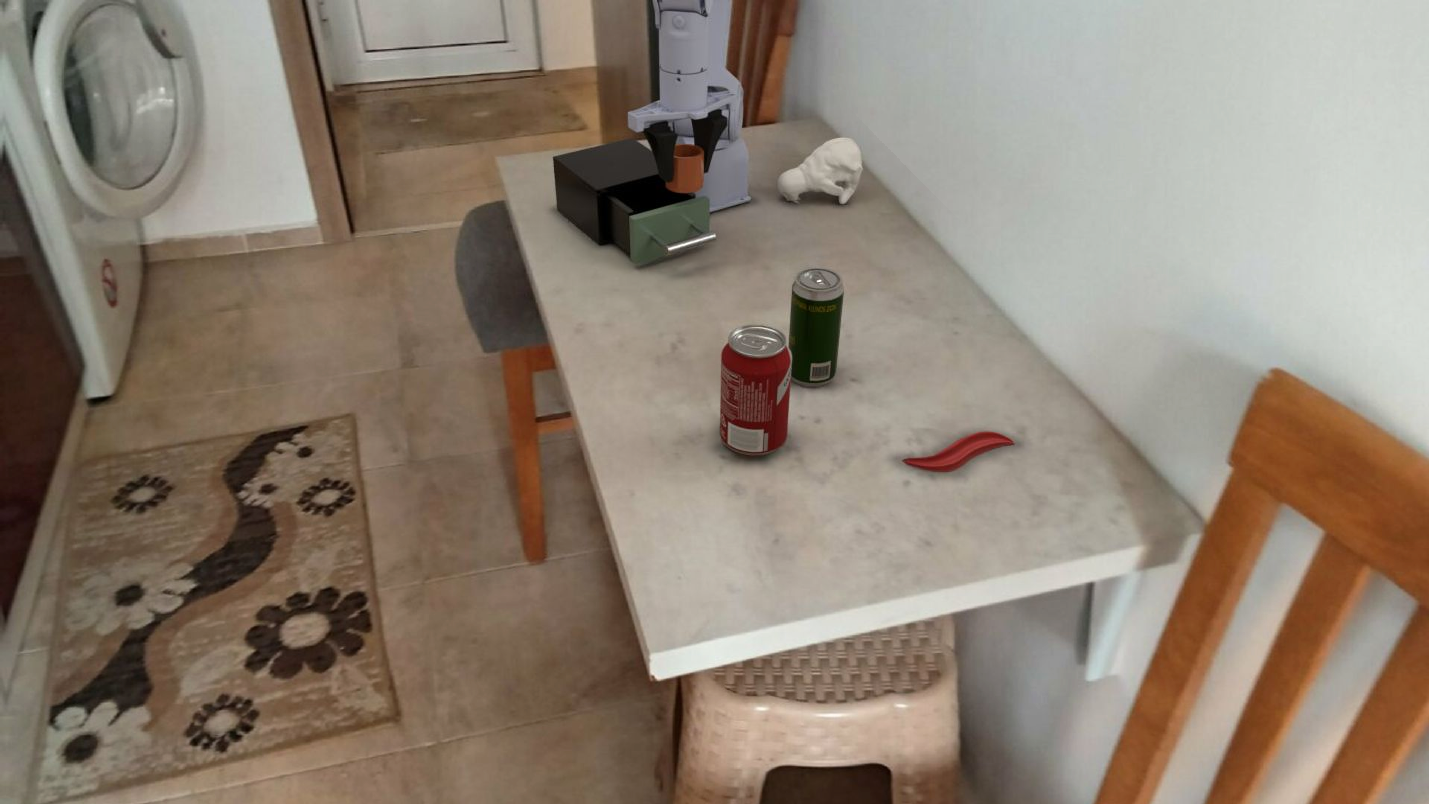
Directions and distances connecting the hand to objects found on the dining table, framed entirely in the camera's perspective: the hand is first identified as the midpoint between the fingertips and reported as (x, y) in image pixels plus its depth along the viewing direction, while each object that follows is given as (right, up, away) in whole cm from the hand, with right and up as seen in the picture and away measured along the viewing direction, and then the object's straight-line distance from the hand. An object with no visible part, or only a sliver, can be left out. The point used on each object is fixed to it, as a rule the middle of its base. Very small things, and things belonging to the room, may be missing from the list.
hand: (683, 174), depth 135 cm
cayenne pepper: (+28, -34, -28) cm, 52 cm away
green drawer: (-3, -8, +5) cm, 10 cm away
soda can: (+8, -32, -27) cm, 43 cm away
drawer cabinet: (-9, -3, +13) cm, 17 cm away
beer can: (+14, -26, -17) cm, 34 cm away
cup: (0, -1, +1) cm, 1 cm away
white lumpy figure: (+19, +1, +19) cm, 27 cm away
